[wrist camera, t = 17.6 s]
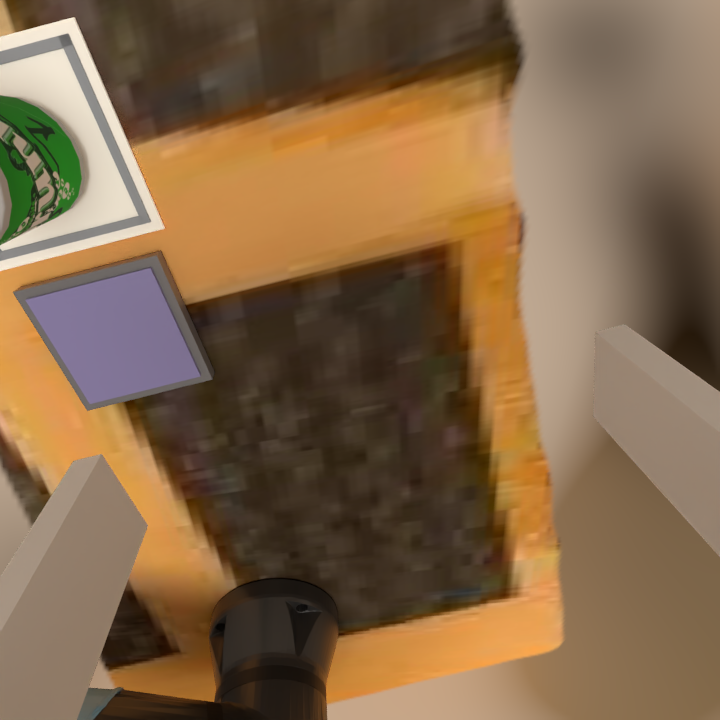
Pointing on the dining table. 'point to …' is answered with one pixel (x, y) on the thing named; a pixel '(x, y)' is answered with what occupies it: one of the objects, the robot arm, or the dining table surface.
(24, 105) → the soda can
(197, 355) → the ink pad
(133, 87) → the dining table surface
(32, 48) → the marked sheet
